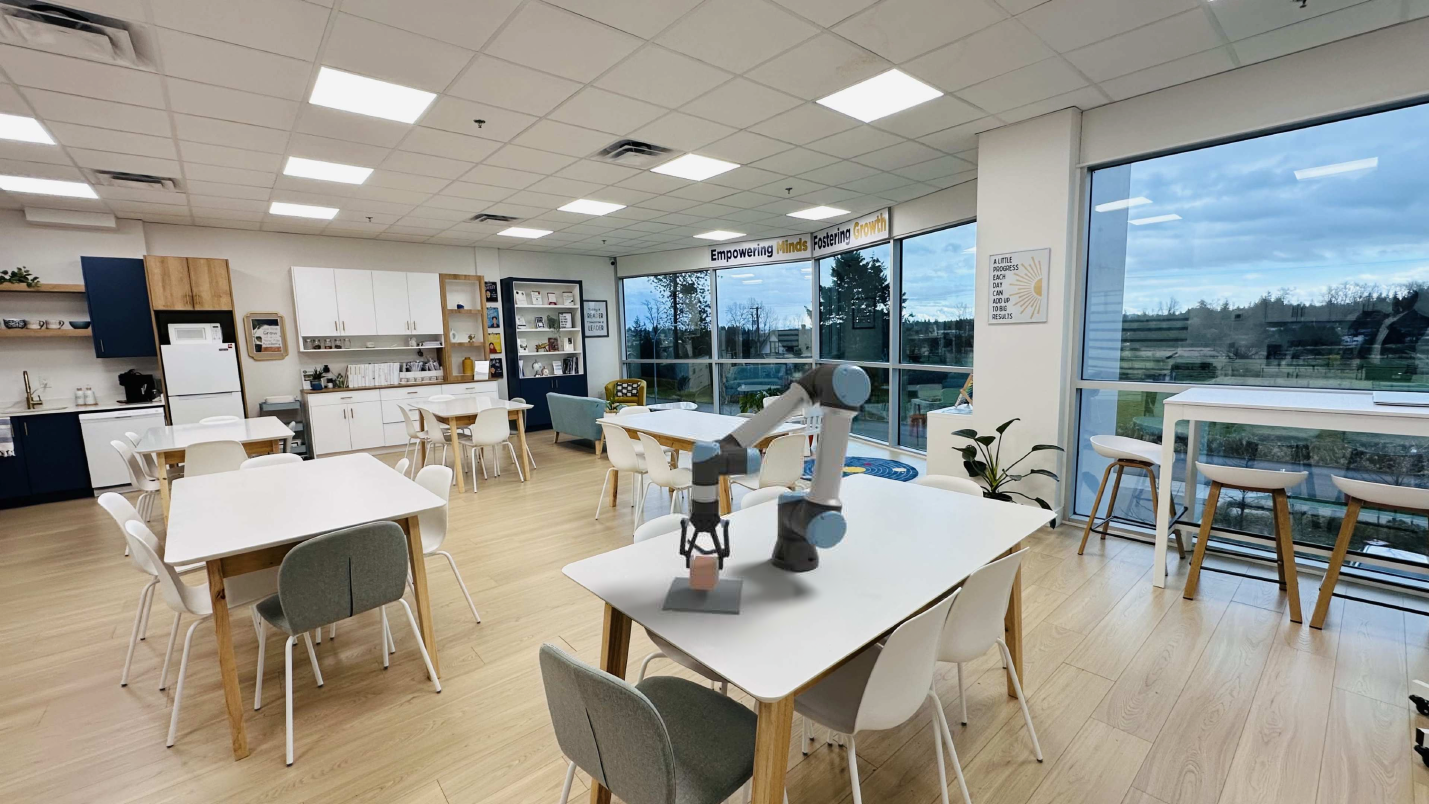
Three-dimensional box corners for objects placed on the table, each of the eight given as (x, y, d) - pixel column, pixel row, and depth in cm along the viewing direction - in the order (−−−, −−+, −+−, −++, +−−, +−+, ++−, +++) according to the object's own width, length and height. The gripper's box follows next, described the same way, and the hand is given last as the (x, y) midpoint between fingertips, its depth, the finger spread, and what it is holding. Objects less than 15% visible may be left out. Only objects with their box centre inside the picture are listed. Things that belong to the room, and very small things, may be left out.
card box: (714, 590, 149) (714, 570, 148) (690, 588, 150) (690, 568, 149) (718, 575, 159) (718, 556, 158) (695, 574, 159) (695, 555, 159)
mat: (742, 582, 163) (742, 580, 163) (738, 614, 144) (738, 611, 144) (675, 579, 165) (675, 577, 165) (662, 610, 146) (662, 607, 146)
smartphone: (686, 542, 200) (705, 556, 186) (686, 538, 200) (705, 551, 186) (708, 539, 204) (728, 552, 190) (708, 534, 204) (728, 547, 190)
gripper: (741, 496, 155) (740, 576, 157) (672, 493, 157) (672, 573, 159) (739, 503, 148) (738, 587, 149) (667, 500, 149) (667, 583, 151)
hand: (704, 579), depth 154 cm, fingers closed on card box, 6 cm apart
